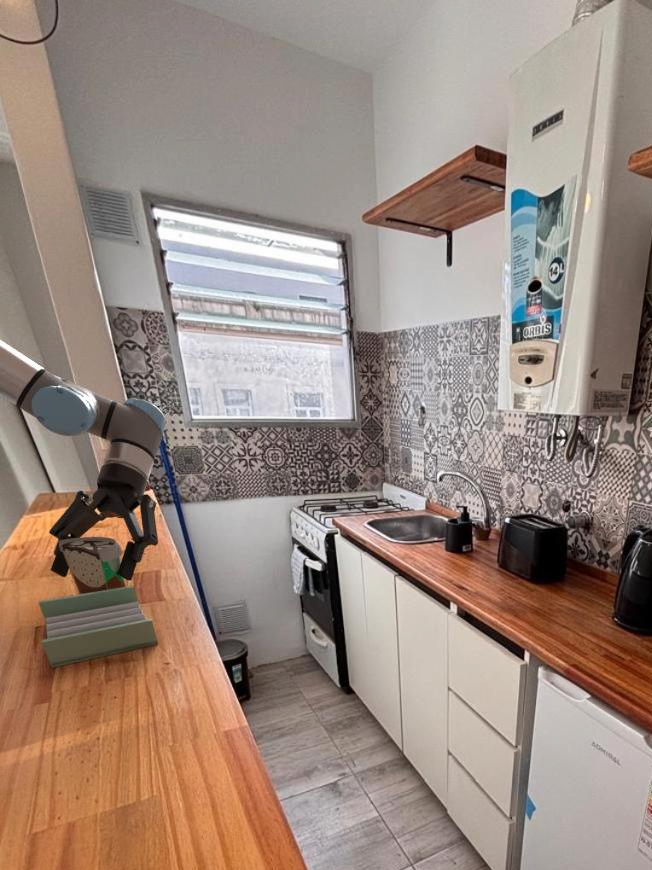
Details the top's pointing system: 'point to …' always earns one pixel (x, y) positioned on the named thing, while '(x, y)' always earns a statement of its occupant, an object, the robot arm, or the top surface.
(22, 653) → the top surface
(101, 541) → the food container
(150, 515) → the robot arm
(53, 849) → the top surface
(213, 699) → the top surface
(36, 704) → the top surface
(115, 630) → the dish rack
